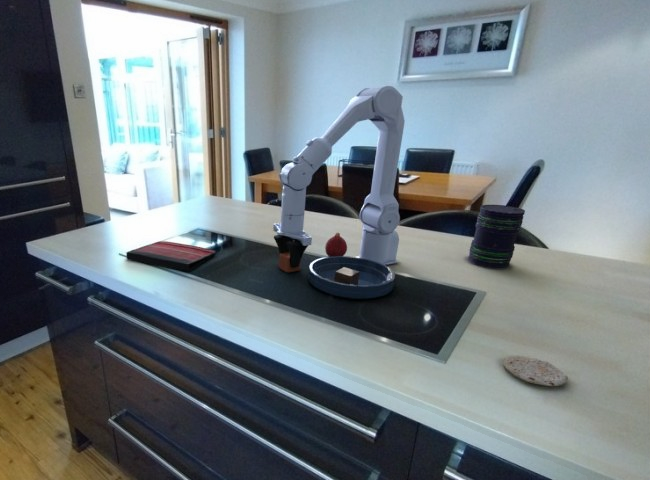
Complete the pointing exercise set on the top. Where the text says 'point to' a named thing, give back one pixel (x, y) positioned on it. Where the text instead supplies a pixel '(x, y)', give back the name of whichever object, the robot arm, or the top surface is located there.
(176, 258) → the binder
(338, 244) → the onion
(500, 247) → the storage jar
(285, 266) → the terracotta block
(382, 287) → the bowl
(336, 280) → the walnut block
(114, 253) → the top surface
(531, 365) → the flatbread
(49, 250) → the top surface
